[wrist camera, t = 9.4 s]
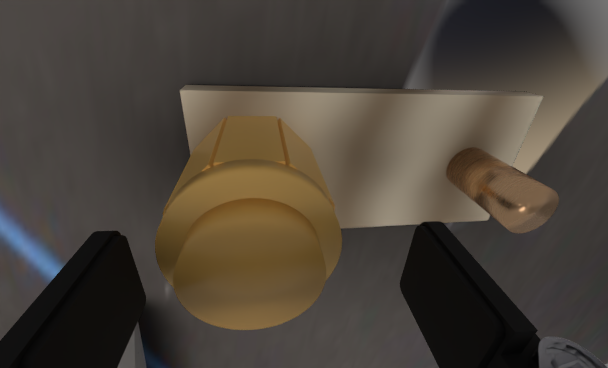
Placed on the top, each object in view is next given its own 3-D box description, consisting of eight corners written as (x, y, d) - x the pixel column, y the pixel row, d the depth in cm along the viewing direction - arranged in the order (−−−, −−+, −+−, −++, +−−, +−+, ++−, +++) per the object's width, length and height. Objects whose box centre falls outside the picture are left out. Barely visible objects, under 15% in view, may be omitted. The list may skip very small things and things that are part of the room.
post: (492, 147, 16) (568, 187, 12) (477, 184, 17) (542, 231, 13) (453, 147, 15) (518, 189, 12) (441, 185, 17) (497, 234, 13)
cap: (316, 114, 13) (366, 192, 7) (309, 216, 16) (341, 334, 10) (184, 113, 13) (113, 201, 6) (201, 222, 16) (164, 353, 9)
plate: (525, 91, 16) (543, 96, 15) (475, 210, 20) (487, 220, 19) (185, 85, 13) (179, 90, 12) (207, 223, 17) (203, 236, 16)
